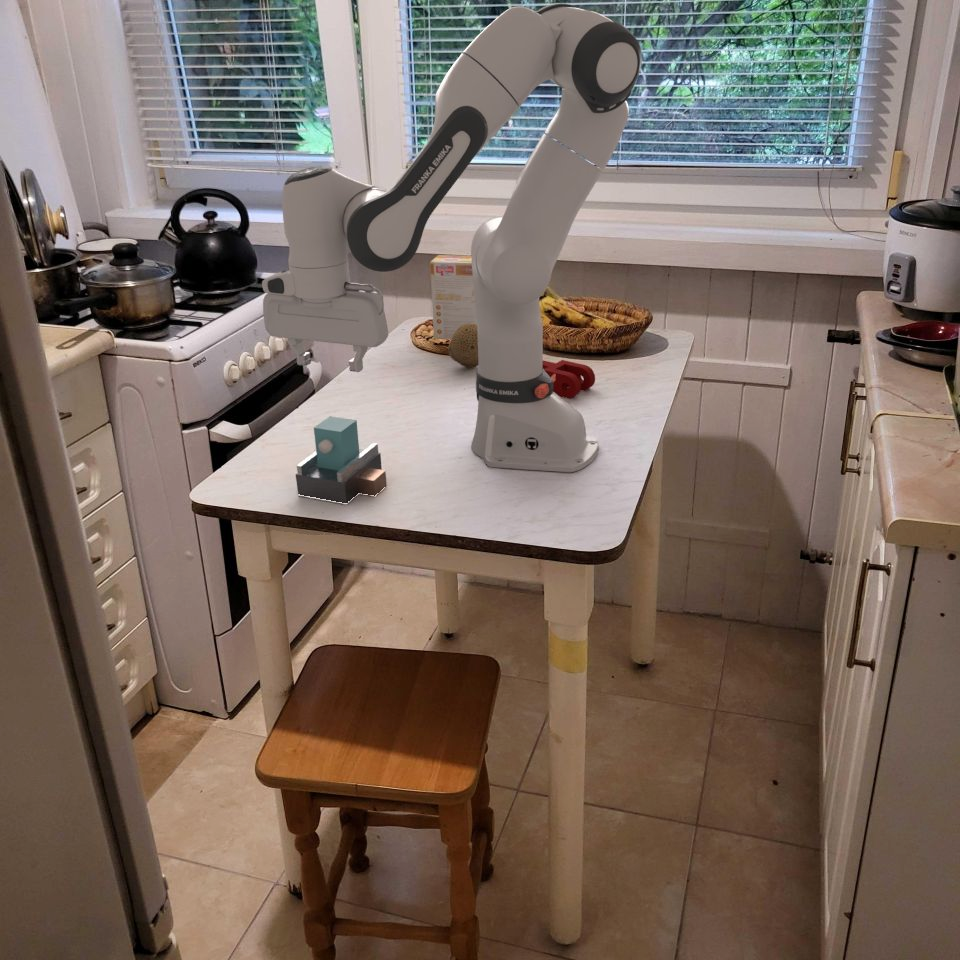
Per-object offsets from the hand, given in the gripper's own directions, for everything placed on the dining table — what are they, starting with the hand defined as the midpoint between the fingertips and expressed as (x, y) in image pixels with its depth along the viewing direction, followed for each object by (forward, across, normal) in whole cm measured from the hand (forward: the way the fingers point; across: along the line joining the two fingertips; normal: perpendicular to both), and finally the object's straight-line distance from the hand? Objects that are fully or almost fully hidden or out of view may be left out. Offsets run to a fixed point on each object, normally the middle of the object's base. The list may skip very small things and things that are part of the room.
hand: (330, 367), depth 153 cm
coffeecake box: (+21, +10, -76) cm, 79 cm away
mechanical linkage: (+22, -18, -54) cm, 61 cm away
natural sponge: (+21, +2, -59) cm, 63 cm away
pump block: (+17, 0, 0) cm, 17 cm away
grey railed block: (+21, -1, 0) cm, 21 cm away
